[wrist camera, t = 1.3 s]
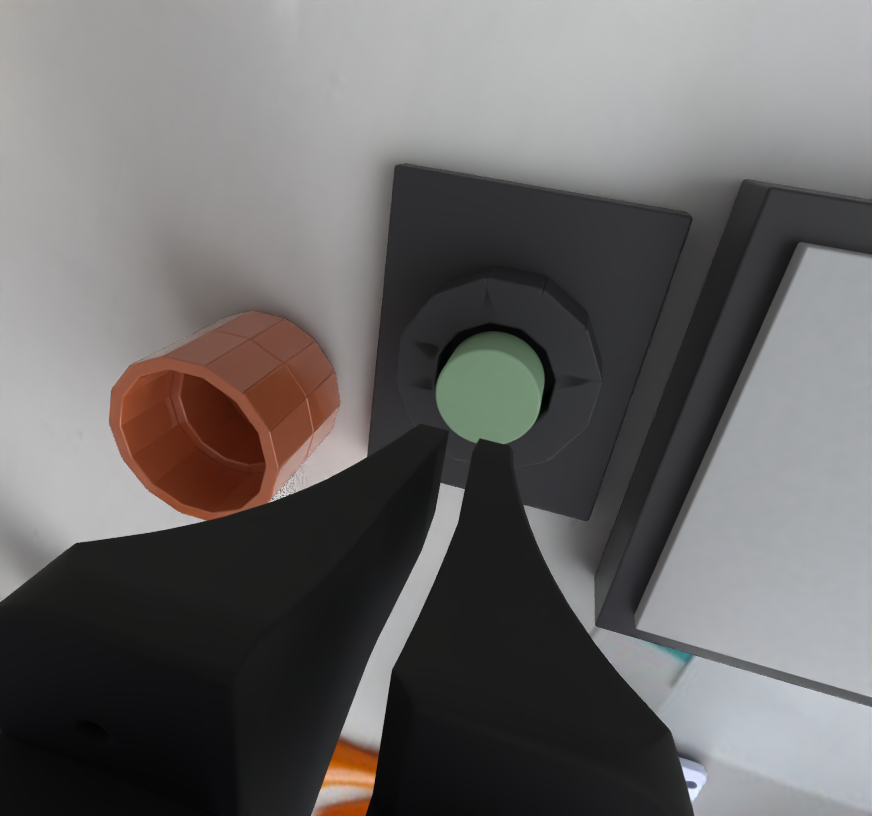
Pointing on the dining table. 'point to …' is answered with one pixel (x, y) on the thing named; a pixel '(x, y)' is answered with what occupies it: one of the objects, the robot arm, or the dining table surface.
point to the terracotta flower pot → (225, 413)
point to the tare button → (491, 388)
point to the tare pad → (522, 315)
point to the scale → (762, 458)
